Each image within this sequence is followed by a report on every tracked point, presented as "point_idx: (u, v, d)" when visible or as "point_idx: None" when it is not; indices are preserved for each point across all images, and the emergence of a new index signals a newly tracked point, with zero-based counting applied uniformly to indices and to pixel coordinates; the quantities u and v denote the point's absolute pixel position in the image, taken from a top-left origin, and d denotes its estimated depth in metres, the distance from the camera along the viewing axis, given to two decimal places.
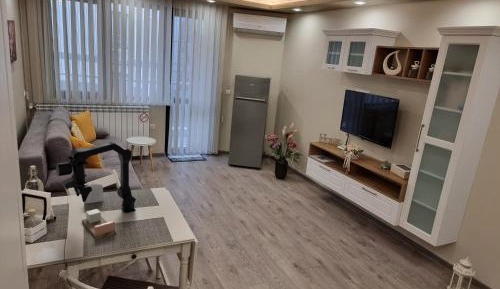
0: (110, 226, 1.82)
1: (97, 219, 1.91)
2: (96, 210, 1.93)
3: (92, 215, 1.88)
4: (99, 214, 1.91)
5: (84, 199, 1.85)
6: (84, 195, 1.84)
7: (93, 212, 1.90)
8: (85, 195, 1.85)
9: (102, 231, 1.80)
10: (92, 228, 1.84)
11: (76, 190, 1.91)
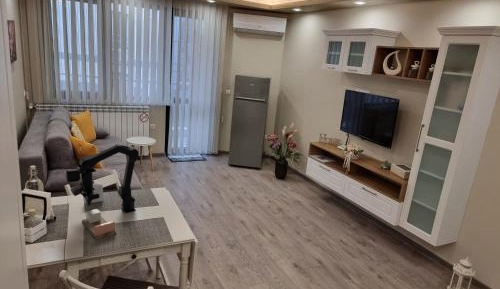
0: (110, 226, 1.82)
1: (97, 219, 1.91)
2: (96, 210, 1.93)
3: (92, 215, 1.88)
4: (99, 214, 1.91)
5: (89, 202, 1.95)
6: None
7: (93, 212, 1.90)
8: None
9: (102, 231, 1.80)
10: (92, 228, 1.84)
11: (87, 199, 1.95)
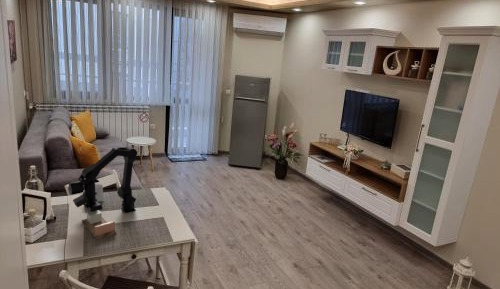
0: (110, 226, 1.82)
1: (98, 220, 1.90)
2: (97, 211, 1.92)
3: (93, 215, 1.88)
4: (100, 215, 1.91)
5: None
6: None
7: (94, 213, 1.89)
8: None
9: (102, 231, 1.80)
10: (92, 228, 1.84)
11: (89, 210, 1.94)
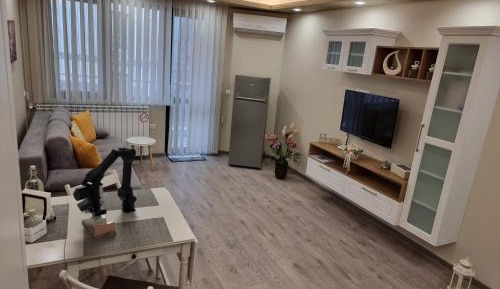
0: (110, 226, 1.82)
1: None
2: (102, 216, 1.87)
3: (97, 220, 1.83)
4: (104, 219, 1.86)
5: None
6: None
7: (98, 218, 1.85)
8: None
9: (102, 231, 1.80)
10: (92, 228, 1.84)
11: (93, 214, 1.89)
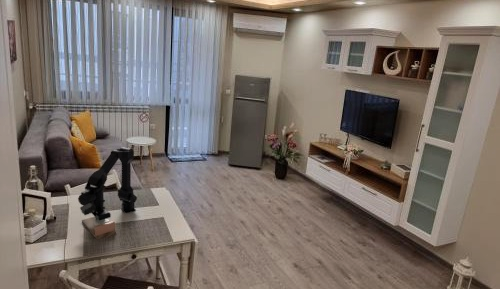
0: (110, 226, 1.82)
1: None
2: (105, 219, 1.84)
3: None
4: None
5: None
6: None
7: (102, 221, 1.82)
8: None
9: (102, 231, 1.80)
10: (92, 228, 1.84)
11: (97, 218, 1.86)
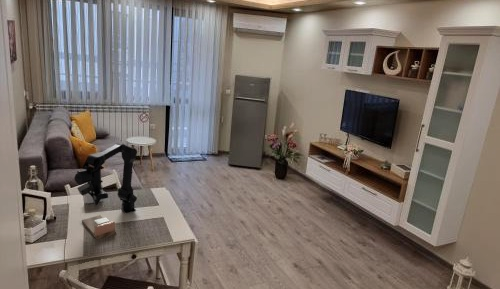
0: (110, 226, 1.82)
1: None
2: (105, 219, 1.84)
3: None
4: None
5: (96, 202, 1.85)
6: None
7: (102, 221, 1.82)
8: None
9: (102, 231, 1.80)
10: (92, 228, 1.84)
11: (94, 199, 1.85)
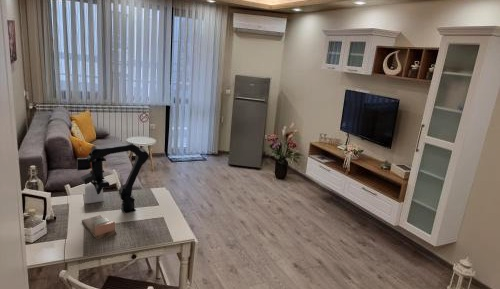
0: (110, 226, 1.82)
1: None
2: (105, 219, 1.84)
3: None
4: None
5: (98, 191, 1.98)
6: None
7: (102, 221, 1.82)
8: None
9: (102, 231, 1.80)
10: (92, 228, 1.84)
11: (96, 188, 1.98)
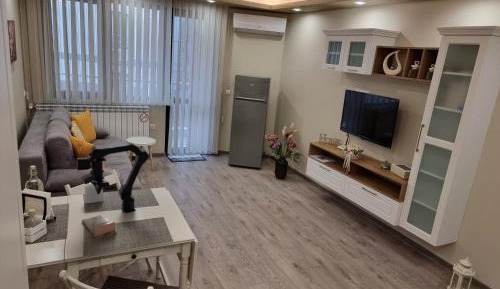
0: (110, 226, 1.82)
1: None
2: (105, 219, 1.84)
3: None
4: None
5: (98, 191, 1.98)
6: None
7: (102, 221, 1.82)
8: None
9: (102, 231, 1.80)
10: (92, 228, 1.84)
11: (96, 188, 1.98)
